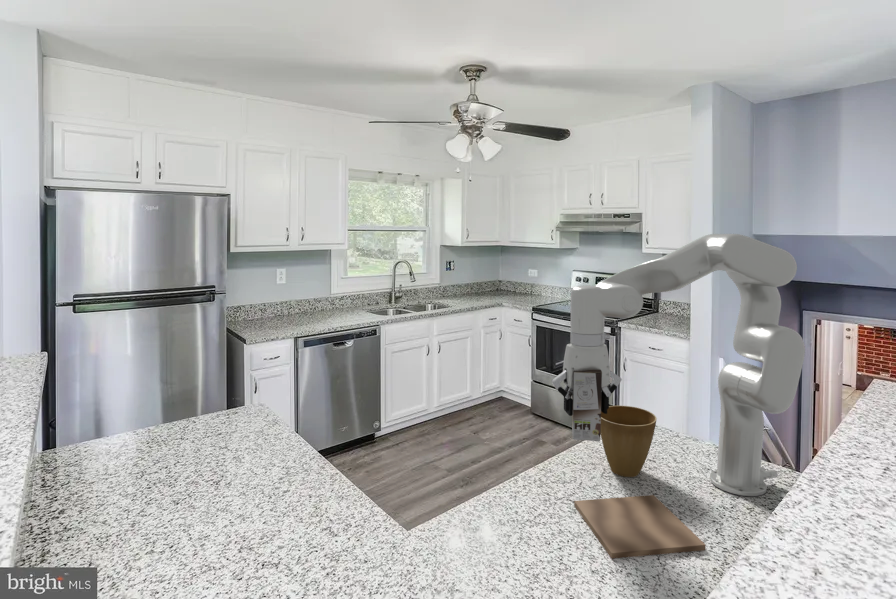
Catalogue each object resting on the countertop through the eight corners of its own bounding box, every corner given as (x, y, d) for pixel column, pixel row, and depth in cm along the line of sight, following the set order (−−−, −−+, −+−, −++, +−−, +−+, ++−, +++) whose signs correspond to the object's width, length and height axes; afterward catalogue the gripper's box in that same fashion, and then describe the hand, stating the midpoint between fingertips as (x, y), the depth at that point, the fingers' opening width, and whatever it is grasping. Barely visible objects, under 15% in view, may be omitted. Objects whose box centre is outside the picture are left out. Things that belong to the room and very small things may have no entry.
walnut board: (653, 499, 122) (653, 494, 122) (705, 550, 102) (705, 544, 102) (574, 505, 119) (574, 500, 119) (611, 558, 100) (611, 553, 100)
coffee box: (601, 442, 114) (602, 372, 112) (572, 440, 115) (572, 371, 113) (598, 427, 123) (599, 362, 121) (571, 425, 124) (572, 361, 122)
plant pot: (595, 456, 146) (597, 403, 144) (650, 462, 142) (653, 407, 140) (596, 480, 132) (598, 421, 130) (657, 487, 128) (660, 427, 126)
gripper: (616, 334, 121) (615, 405, 123) (545, 337, 119) (545, 409, 121) (630, 341, 113) (628, 416, 116) (555, 344, 112) (555, 420, 114)
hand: (586, 412), depth 118 cm, fingers closed on coffee box, 7 cm apart
